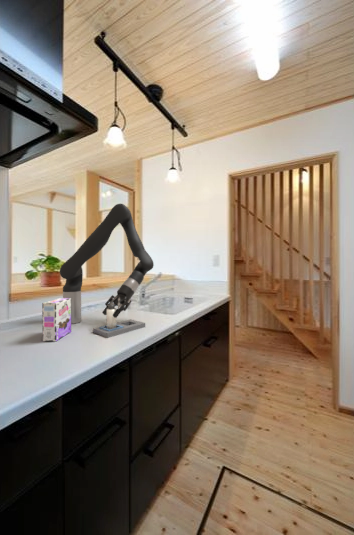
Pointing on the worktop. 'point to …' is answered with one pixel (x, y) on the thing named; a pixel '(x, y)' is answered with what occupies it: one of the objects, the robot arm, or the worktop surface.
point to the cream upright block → (111, 317)
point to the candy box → (56, 319)
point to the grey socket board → (119, 328)
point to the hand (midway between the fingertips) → (108, 315)
